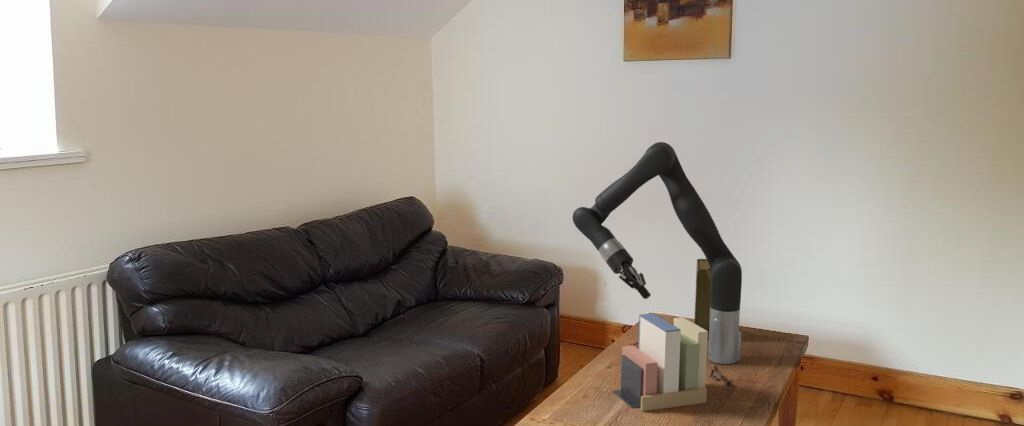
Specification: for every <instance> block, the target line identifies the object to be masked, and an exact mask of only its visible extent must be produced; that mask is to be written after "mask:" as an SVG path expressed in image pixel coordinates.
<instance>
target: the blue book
mask: <svg viewBox="0 0 1024 426" xmlns="http://www.w3.org/2000/svg"><path fill="white" fill-rule="evenodd" d="M680 330H681V329H679V328H677V327H676V326H674V325H673V323H671V322H669V321H667V320H666V319H663V318H662V317H661V316H659V315H658V314H655V313H654V312H653V313H652V312H651V313H642V314H639V315H638V343H637V344H638V346H637V348H638V349H639V350H640V351H642V352H643V353H645V354H646V355H648V356H649V357H650V358H652V359H653V360H655V361H656V362H657V391H656V394H662V393H669V392H677V391H678V388H679V362H680V337H681V331H680Z"/></svg>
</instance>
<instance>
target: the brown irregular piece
mask: <svg viewBox="0 0 1024 426" xmlns="http://www.w3.org/2000/svg"><path fill="white" fill-rule="evenodd" d="M714 373H716V375H714ZM708 377H709V378H712V380H714V381H715V382H718V381H719V378H720V379H721V380H722V381H723V383H724V387H727V386H730V385H731V383H732V382H733V381H732V380H729V379H728V378H727V377H725V376H724V374H723V373H722V372H721V371H720V370H719V369H718V366H717V365H715V364H711V370H710V372H709V375H708Z"/></svg>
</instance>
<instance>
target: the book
mask: <svg viewBox="0 0 1024 426" xmlns="http://www.w3.org/2000/svg"><path fill="white" fill-rule="evenodd" d="M695 273H696V274H695V277H696V278H695V299H694V300H695V301H694V321H693V323H694V324H696V325H697V326H699V327H701V328H703V329H705V330H706V331H708V338H707V340H709V322H710V296H711V275H712V270H711V267H710V265H709V263H708V261H707V259H706V258H699V259H697V258H696V272H695Z"/></svg>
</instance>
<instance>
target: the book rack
mask: <svg viewBox="0 0 1024 426" xmlns="http://www.w3.org/2000/svg"><path fill="white" fill-rule="evenodd" d="M672 325H674V326H676V327H677V328H679V329H681V330H680V331H681V337H680V362H679V388H678V391H677V392H669V393H662V394H656V391H657V362H656V361H655V360H653V359H652V358H650V357H649V356H648V355H646V354H645V353H643V352H642V351H640V350H639V349H638V347H636V346H635V345H625V346H624V345H623V346H621V356H622V355H625V356H626V357H628V358H629V359H631V360H632V361H633V362H635V363H636V364H637V365H639V366H640V367H641V368H643V393H642V396H641V407H640V411H641V412H648V411H655V410H662V409H668V408H677V407H684V406H691V405H698V404H705V403H706V404H707V395H708V388H706V381H707V380H706V379H707V361H708V339H707V338H708V331H706V330H705V329H703V328H701V327H699V326H697V325H696V324H694V322H692V321H691V320H689V319H687V318H685V317H683V316H682V317H681V316H680V317H674V318H673V323H672Z"/></svg>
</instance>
